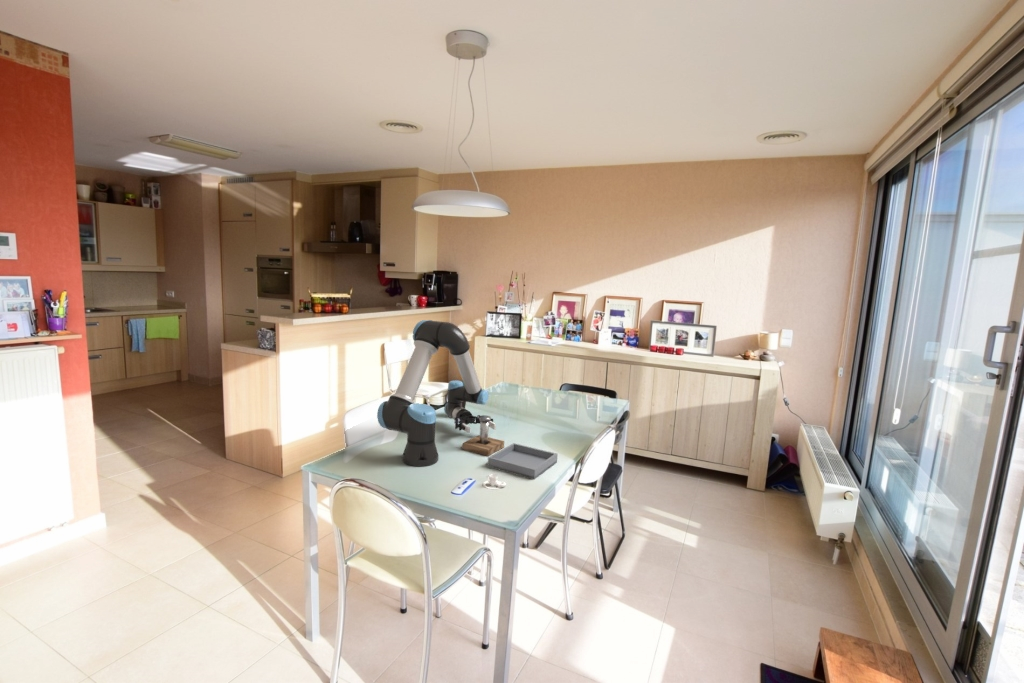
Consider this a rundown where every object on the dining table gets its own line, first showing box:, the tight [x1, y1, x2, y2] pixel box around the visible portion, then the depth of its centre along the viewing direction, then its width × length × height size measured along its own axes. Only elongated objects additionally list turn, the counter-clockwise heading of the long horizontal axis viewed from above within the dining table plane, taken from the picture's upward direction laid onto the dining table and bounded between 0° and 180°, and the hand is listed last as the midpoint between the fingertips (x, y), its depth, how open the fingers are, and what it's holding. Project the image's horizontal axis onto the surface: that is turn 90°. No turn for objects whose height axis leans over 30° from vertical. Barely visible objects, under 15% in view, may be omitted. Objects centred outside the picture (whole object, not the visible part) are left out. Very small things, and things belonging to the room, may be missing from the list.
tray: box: [487, 442, 558, 480], centre depth 215 cm, size 22×22×4 cm
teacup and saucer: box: [482, 473, 507, 490], centre depth 193 cm, size 9×8×4 cm
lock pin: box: [479, 415, 492, 445], centre depth 231 cm, size 5×5×15 cm
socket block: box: [461, 434, 505, 457], centre depth 232 cm, size 14×14×3 cm
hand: (482, 428), depth 234 cm, fingers open, 13 cm apart
